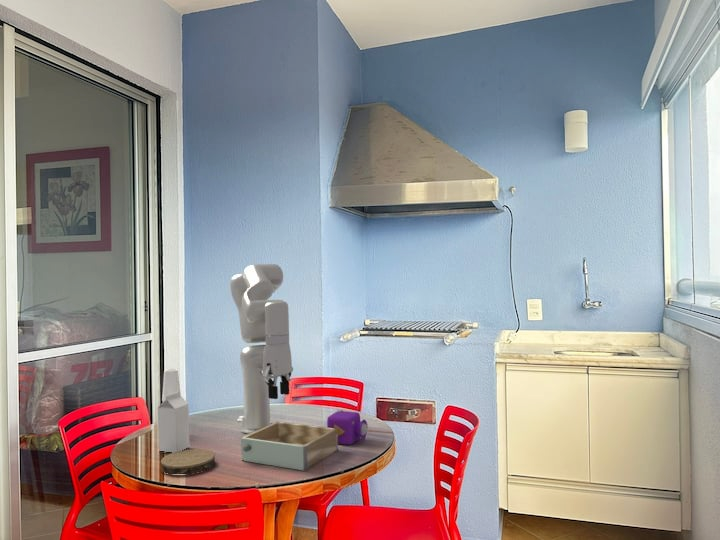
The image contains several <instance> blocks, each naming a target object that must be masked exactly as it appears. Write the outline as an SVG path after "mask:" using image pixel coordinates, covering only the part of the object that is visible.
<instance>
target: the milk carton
mask: <svg viewBox="0 0 720 540" xmlns="http://www.w3.org/2000/svg"><path fill="white" fill-rule="evenodd" d="M180 392H181V391H180ZM180 392H176V393H173V394H171V395H168V396H166V398H165V399H164V402H162V403H161V404H160V405H159V406H158V407H157V427H158V428H157V429H158V430H157V433H158V434H157V435H158V452H159V451H165V452H164V453H166V452H173V453H174V452H178V451H181V450H184V449H185V450H187V449H188V448H190V420H189V419H190V417H189V403H188V401H186V399H185V398H184V397H183V396H182V394H181V395H180ZM186 448H187V449H186Z"/></svg>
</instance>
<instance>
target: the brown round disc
mask: <svg viewBox="0 0 720 540" xmlns="http://www.w3.org/2000/svg"><path fill="white" fill-rule="evenodd" d="M215 458H216V457H215V452H214V451H212V450H209V449H206V448H205V449H204V448H193V449H192V448H191V449H185V450H183V451H178V452H174V453H169V454H166V455H164V457H163V458H162V459H161V461H160V470H161V469H162V471H163V472H165V473H168V474H192V473H196V474H198V473H197V472H201V471H203V472H205V471H204V470H206V471H208V470H210V469H212V468H213V467H214V466H215V465H214V464H215V463H216V462H215V461H216V460H215ZM213 465H214V466H213ZM212 466H213V467H212ZM211 467H212V468H211ZM209 468H210V469H209ZM207 469H208V470H207ZM162 471H161V472H162ZM163 472H162V473H163ZM201 473H202V472H201ZM192 475H193V474H192Z"/></svg>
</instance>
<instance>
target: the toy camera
mask: <svg viewBox="0 0 720 540" xmlns="http://www.w3.org/2000/svg"><path fill="white" fill-rule="evenodd" d="M326 426H327V428H335V429H337V431H338V445H347V446H348V445H352V444H354V443H355V442H357V441H358V440H359V439H362V440H364V439H366V437H367V434H368V422H367V420H366V419H362V420H361V415H360V413H359V412H357V411H345V410H343V409H338V410H337V411H335V412H333V413H332V414H331V415H329V416H328V417H327V420H326Z"/></svg>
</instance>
